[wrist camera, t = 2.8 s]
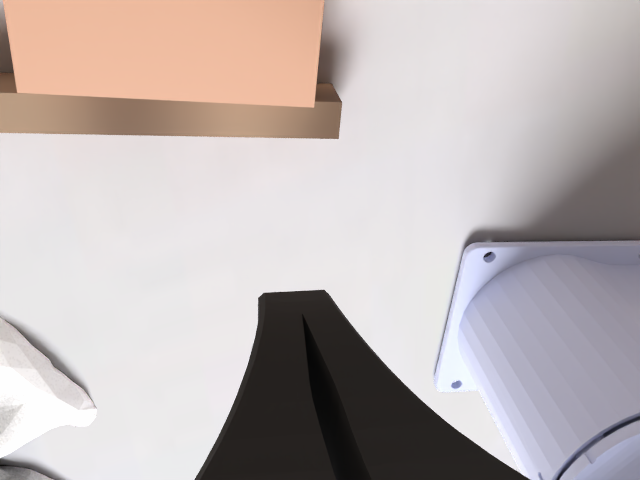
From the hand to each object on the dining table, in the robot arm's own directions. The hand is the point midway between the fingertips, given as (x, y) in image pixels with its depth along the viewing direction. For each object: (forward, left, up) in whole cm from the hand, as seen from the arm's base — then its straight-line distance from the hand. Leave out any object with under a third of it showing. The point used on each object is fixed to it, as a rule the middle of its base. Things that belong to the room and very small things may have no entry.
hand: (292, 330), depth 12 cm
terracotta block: (+3, -5, -11) cm, 12 cm away
